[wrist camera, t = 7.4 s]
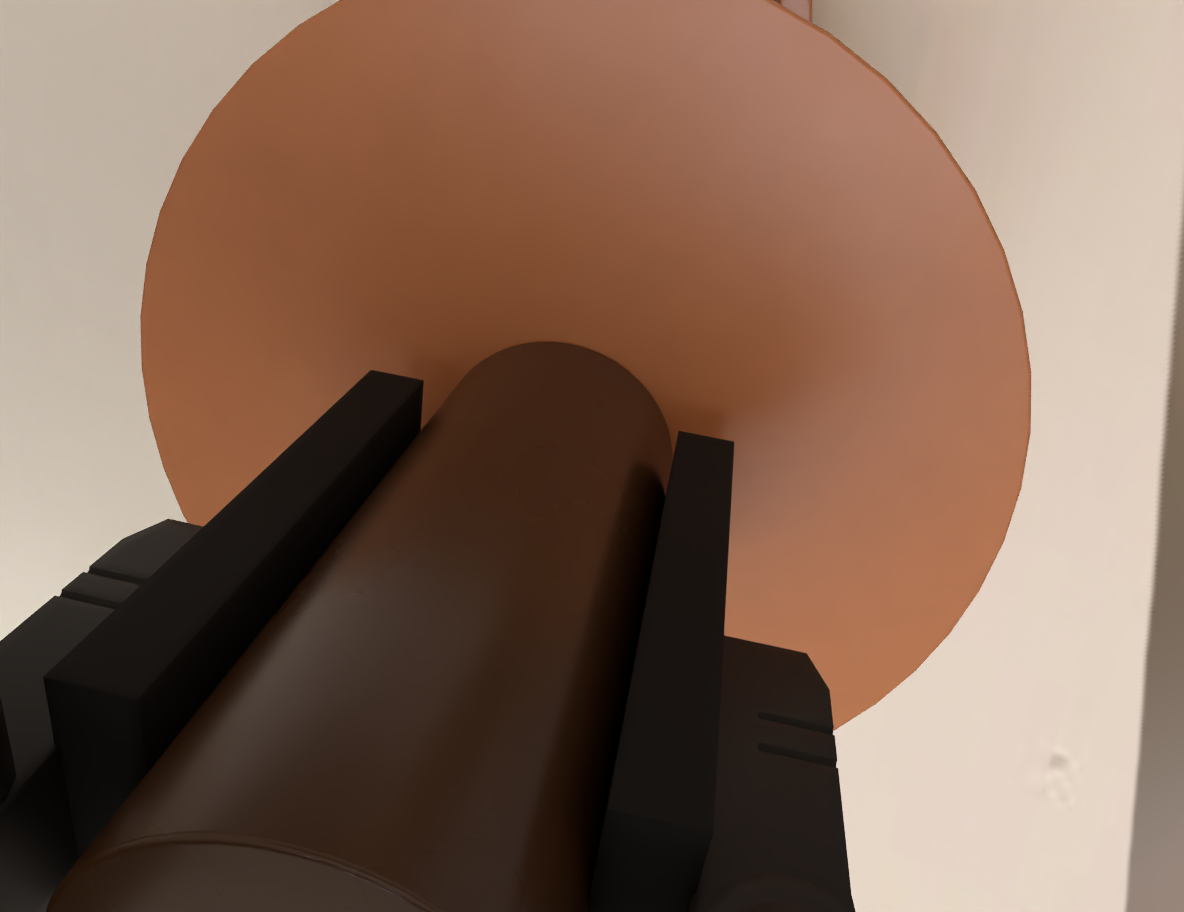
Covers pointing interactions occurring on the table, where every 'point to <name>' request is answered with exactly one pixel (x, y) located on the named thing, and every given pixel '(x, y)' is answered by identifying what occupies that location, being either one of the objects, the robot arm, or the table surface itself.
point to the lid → (550, 421)
